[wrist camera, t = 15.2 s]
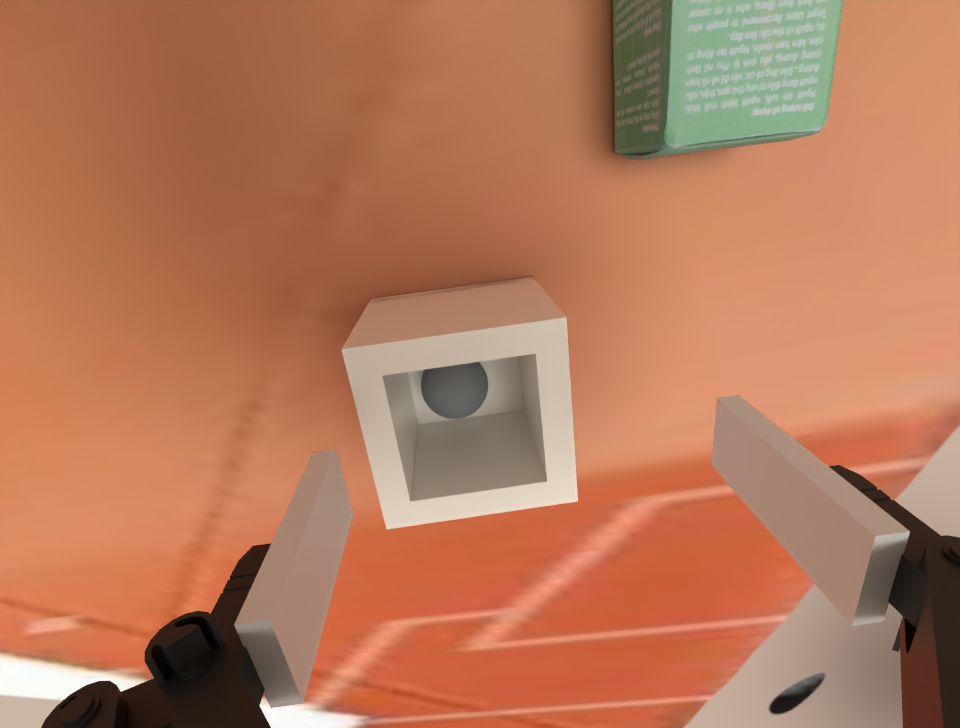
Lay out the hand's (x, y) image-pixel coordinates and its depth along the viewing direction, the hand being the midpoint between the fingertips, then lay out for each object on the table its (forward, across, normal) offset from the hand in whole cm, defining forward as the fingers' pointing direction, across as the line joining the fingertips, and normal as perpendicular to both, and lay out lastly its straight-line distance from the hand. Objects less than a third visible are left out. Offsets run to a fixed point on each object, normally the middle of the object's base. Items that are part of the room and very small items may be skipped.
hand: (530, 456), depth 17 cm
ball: (+12, -3, -3) cm, 13 cm away
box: (+16, +12, +15) cm, 25 cm away
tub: (+15, -2, -2) cm, 15 cm away
